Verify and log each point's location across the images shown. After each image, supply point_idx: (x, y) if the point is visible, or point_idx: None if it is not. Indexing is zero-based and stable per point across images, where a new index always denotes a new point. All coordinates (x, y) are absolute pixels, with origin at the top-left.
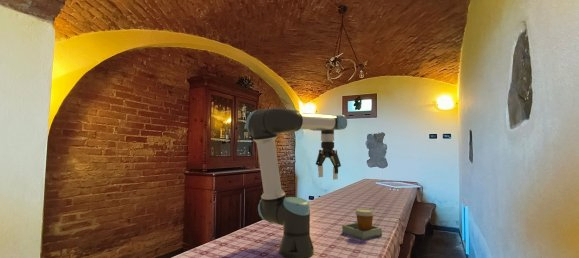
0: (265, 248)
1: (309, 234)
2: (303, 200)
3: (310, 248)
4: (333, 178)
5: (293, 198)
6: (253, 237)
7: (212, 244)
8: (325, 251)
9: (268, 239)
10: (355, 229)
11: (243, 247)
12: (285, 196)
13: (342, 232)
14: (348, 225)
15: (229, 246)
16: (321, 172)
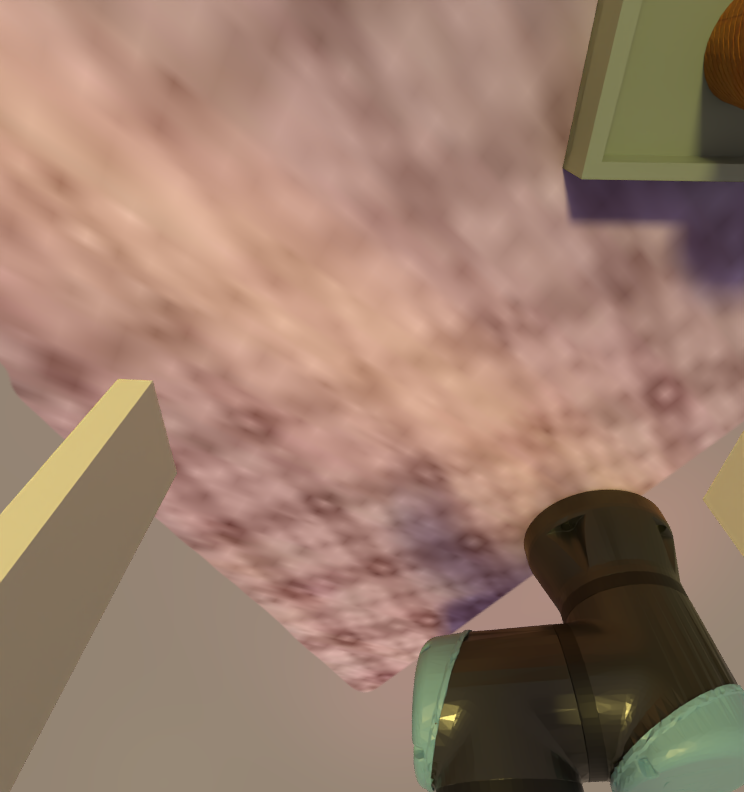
0: (473, 580)
1: (678, 580)
2: (726, 765)
3: (674, 546)
4: (731, 518)
5: (661, 787)
6: (331, 564)
7: (333, 655)
8: (678, 457)
9: (388, 539)
10: (741, 179)
11: (416, 615)
12: (571, 784)
13: (564, 167)
14: (611, 112)
15: (381, 635)
16: (105, 513)
